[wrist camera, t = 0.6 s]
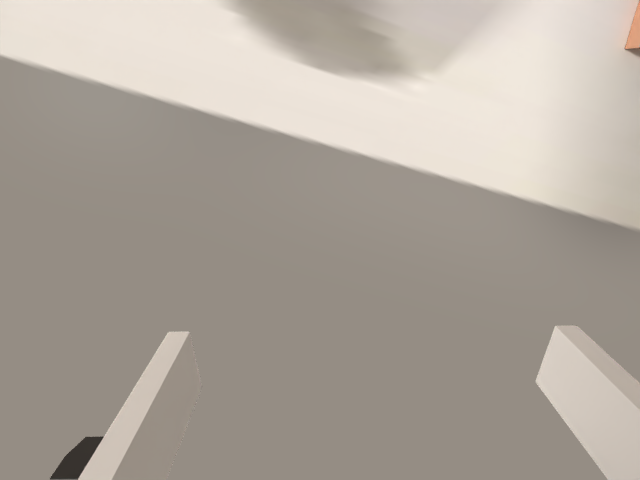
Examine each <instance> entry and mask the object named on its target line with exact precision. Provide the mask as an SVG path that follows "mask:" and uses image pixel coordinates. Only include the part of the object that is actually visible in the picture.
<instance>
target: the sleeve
mask: <svg viewBox="0 0 640 480" xmlns="http://www.w3.org/2000/svg"><path fill="white" fill-rule="evenodd" d="M634 48H640V0H639V3H638V6H637V10H636V13H635V16H634V20H633V23H632V26H631V30H630V33H629V36H628V40H627V43H626V46H625V49H634Z"/></svg>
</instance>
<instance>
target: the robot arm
mask: <svg viewBox="0 0 640 480" xmlns="http://www.w3.org/2000/svg"><path fill="white" fill-rule="evenodd" d="M536 383H537V384H538V386H539V387H540V389H541V390H542V391H543V393H544V394H545V395H546V396H547V398H548V399H549V401H550V402H551V403H552V405H553V406H554V407H555V409H556V410H557V411H558V413H559V414H560V415H561V417H562V418H563V420H564V421H565V422H566V423H567V425H568V426H569V428H570V429H571V430H572V432H573V433H574V434H575V436H576V437H577V438H578V440H579V441H580V442H581V444H582V445H583V447H584V448H585V449H586V450H587V452H588V453H589V455H590V456H591V457H592V459H593V460H594V461H595V462H596V464H597V465H598V467H599V468H600V469H601V471H602V472H603V474H604V475H605V476H606V478H607V479H608V480H640V383H639V382H638V381H637V380H636V379H635V378H633V377H632V376H631V375H630V374H629V373H628V372H627V371H626V370H625V369H624V368H623V367H621V366H620V365H619V364H618V363H617V362H616V361H615V360H613V358H612V357H611V356H609V355H608V354H607V353H606V352H605V351H604V350H603V349H602V348H601V347H600V346H599V345H597V344H596V343H595V342H594V341H593V340H592V339H591V338H590V337H589V336H588V335H587V334H585V333H584V332H583V331H582V330H581V329H580V328H579V327H578V326H576V325H566V326H555V328H554V330H553V333H552V336H551V339H550V342H549V345H548V348H547V350H546V353H545V356H544V359H543V362H542V365H541V367H540V370H539V373H538V376H537V379H536ZM201 389H202V384H201V380H200V375H199V371H198V366H197V362H196V358H195V353H194V349H193V344H192V340H191V336H190V332H168V333H167V335H166V337H165V338H164V340H163V342H162V343H161V345H160V347H159V348H158V350H157V351H156V353H155V355H154V356H153V358H152V360H151V361H150V363H149V364H148V366H147V368H146V369H145V371H144V372H143V374H142V376H141V377H140V379H139V381H138V382H137V384H136V385H135V387H134V389H133V390H132V392H131V394H130V395H129V397H128V399H127V400H126V402H125V403H124V405H123V407H122V408H121V410H120V412H119V413H118V415H117V417H116V418H115V420H114V422H113V423H112V425H111V426H110V428H109V430H108V431H107V433H106V435H105V436H104V437H85V438H84V439H83V440H82V441H81V442H80V443H79V444H78V445H77V446H76V447H75V448H74V449H72V450H71V451H70V452H69V453H68V454H67V455H66V456H65V457H64V459H63V460H62V462H61V463H60V465H59V466H58V468H57V469H56V471H55V472H54V473H53V475H52V476H51V478H50V480H166V479H167V477H168V474H169V472H170V469H171V467H172V464H173V461H174V459H175V456H176V453H177V451H178V448H179V446H180V443H181V441H182V438H183V435H184V433H185V430H186V428H187V425H188V423H189V420H190V417H191V415H192V412H193V409H194V407H195V405H196V402H197V399H198V397H199V394H200V392H201Z"/></svg>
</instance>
